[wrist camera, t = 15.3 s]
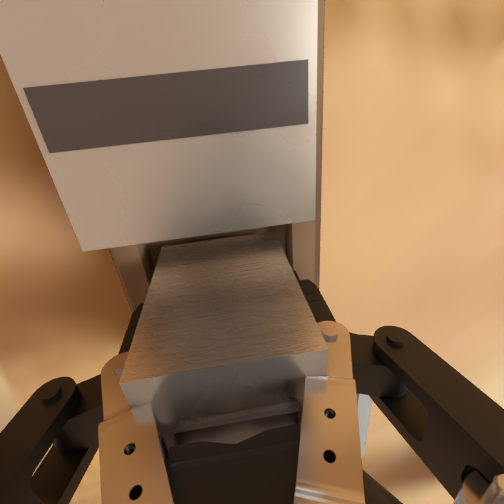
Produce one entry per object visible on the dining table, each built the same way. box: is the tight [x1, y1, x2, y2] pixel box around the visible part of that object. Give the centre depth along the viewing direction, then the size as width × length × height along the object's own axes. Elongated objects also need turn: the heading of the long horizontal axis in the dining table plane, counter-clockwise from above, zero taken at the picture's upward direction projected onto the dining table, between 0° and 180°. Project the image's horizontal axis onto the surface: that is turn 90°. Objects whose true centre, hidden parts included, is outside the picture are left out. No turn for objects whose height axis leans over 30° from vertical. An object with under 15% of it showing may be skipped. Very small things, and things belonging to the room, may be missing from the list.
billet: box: [119, 231, 329, 449], centre depth 11 cm, size 5×5×7 cm
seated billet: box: [0, 0, 318, 252], centre depth 8 cm, size 5×5×7 cm
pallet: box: [109, 0, 325, 313], centre depth 13 cm, size 10×18×2 cm, turn 5°
